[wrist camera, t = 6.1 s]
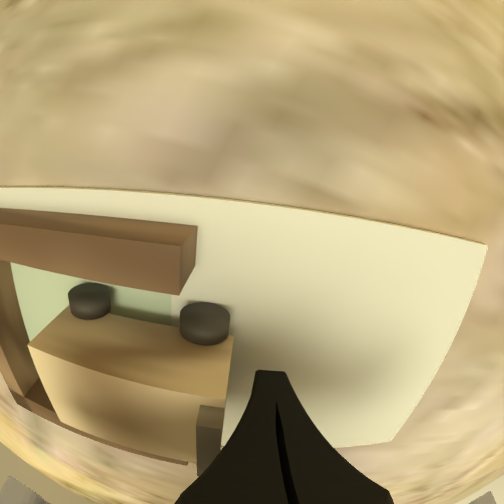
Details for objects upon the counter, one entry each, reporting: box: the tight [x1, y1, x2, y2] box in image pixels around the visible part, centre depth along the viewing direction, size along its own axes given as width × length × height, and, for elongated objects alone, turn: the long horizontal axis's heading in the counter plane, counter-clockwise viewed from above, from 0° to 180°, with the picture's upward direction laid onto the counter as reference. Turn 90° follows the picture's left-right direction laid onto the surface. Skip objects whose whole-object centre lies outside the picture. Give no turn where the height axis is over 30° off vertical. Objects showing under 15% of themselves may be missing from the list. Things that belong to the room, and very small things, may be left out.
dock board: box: [0, 187, 488, 448], centre depth 12 cm, size 14×25×1 cm, turn 83°
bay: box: [0, 208, 198, 465], centre depth 10 cm, size 12×12×2 cm
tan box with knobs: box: [27, 283, 234, 476], centre depth 9 cm, size 7×6×5 cm
